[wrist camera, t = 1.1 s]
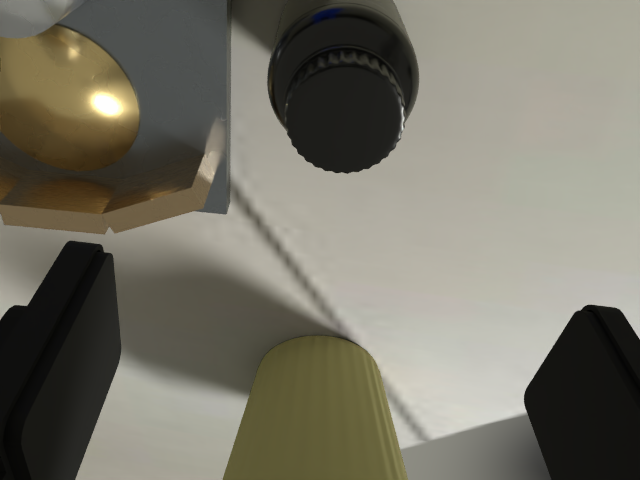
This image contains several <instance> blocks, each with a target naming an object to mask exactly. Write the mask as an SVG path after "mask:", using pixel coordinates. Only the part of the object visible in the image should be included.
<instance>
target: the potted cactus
mask: <svg viewBox="0 0 640 480" xmlns="http://www.w3.org/2000/svg"><path fill="white" fill-rule="evenodd" d="M223 480H408V478H407V474H406V471H405V466H404V463H403V459H402V455H401V451H400V447H399V444H398V440H397V436H396V432H395V428H394V424H393V421H392V417H391V413H390V409H389V405H388V401H387V398H386V394H385V390H384V386H383V382H382V378H381V375H380V371H379V369H378V366H377V364H376V362H375V360H374V359H373V358H372V356H371V355H370V354H369V353H368V352H367V351H365V350H364V349H363V348H361V347H360V346H358V345H356V344H354V343H352V342H350V341H347V340H344V339H341V338H336V337H331V336H303V337H298V338H294V339H290V340H288V341H285V342H283V343H281V344H279V345H277V346H276V347H274V348H272V349H271V350H270V351H269V352H268V353H267V354H266V355H265V356H264V358H263V359H262V361H261V363H260V365H259V367H258V370H257V373H256V376H255V380H254V383H253V386H252V389H251V392H250V395H249V398H248V402H247V405H246V408H245V411H244V414H243V417H242V420H241V424H240V427H239V430H238V433H237V436H236V439H235V442H234V445H233V449H232V452H231V455H230V458H229V461H228V464H227V467H226V470H225V474H224V477H223Z"/></svg>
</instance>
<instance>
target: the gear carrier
mask: <svg viewBox="0 0 640 480" xmlns="http://www.w3.org/2000/svg"><path fill="white" fill-rule="evenodd" d="M230 102H231V0H0V213H1V215H2V219H3V222H4V225H13V226H24V227H34V228H44V229H55V230H65V231H76V232H86V233H96V234H105V233H106V231H107V230H108V228H109V226H110V228H111V229H112V230H113V232H114V233H118V232H122V231H125V230H129V229H132V228H136V227H139V226H143V225H146V224H150V223H153V222H157V221H160V220H164V219H168V218H171V217H175V216H178V215H182V214H185V213H189V212H192V211H198V212H208V213H218V214H227V211H228V207H229V204H230Z"/></svg>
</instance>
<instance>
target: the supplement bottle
mask: <svg viewBox="0 0 640 480" xmlns="http://www.w3.org/2000/svg"><path fill="white" fill-rule="evenodd" d="M267 85H268V94H269V99H270V102H271V106H272V108H273V111H274V113H275V115H276V117H277V119H278V120H279V122H280V123H281V125H282V126H283V127H284V128H285V130H286V131H287V135H288V136H289V138H290V139H291V142H292V145H293V146H294V147H295V148H296V149H297V152H298V154H300V155H301V156H303V157H304V158H305V160H306V161H307V162H310V163H312V164H313V165H314V166H315V167H318V168H322V169H323V170H325V171H333V172H335V173H340V172H344V173H347V174H348V173H351V172H359V171H361V170H363V169H369V168H370V167H371V166H373V165H375V164H378V163H380V161H381V160H382V159H383V158H386V157H388V155H389V153H390V151H392V150H393V149H395V147H396V143H397V142H398V141H399V140H400V139H401V133H402V131H403V130H404V128H405V125H404V123H405V122H406V120H407V119H408V117H409V115H410V113H411V111H412V109H413V107H414V104H415V101H416V98H417V94H418V88H419V69H418V63H417V59H416V55H415V52H414V49H413V46H412V44H411V41H410V39H409V36H408V34H407V31H406V29H405V27H404V24H403V22H402V19H401V17H400V14H399V12H398V10H397V7H396V5H395V3H394V1H393V0H288V2H287V4H286V6H285V8H284V11H283V14H282V16H281V19H280V23H279V27H278V31H277V35H276V39H275V42H274V46H273V50H272V54H271V58H270V62H269V68H268V81H267Z"/></svg>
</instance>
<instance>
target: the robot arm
mask: <svg viewBox="0 0 640 480" xmlns="http://www.w3.org/2000/svg"><path fill="white" fill-rule="evenodd" d="M120 355H121V340H120V329H119V318H118V307H117V296H116V284H115V273H114V262H113V256H112V254H111V253H104V250H103V247H102V245H100V244H94V243H86V242H77V241H69V242H67V243H66V244H65V246H64V247H63V249H62V251H61V252H60V254H59V256H58V257H57V259H56V260H55V262H54V264H53V265H52V267H51V269H50V270H49V272H48V273H47V275H46V277H45V278H44V280H43V282H42V283H41V285H40V286H39V288H38V290H37V291H36V293H35V294H34V296H33V298H32V299H31V301H30V303H29V304H28V306H20V305H14V306H13V307H11V308H9V309H8V311H7V312H6V313H5V314H4V316H3V317H2V319H1V320H0V480H75V478H76V476H77V473H78V470H79V468H80V465H81V462H82V460H83V457H84V454H85V452H86V449H87V446H88V444H89V441H90V438H91V436H92V433H93V431H94V428H95V425H96V423H97V420H98V417H99V415H100V412H101V409H102V407H103V404H104V401H105V399H106V396H107V393H108V391H109V388H110V385H111V383H112V380H113V377H114V375H115V372H116V369H117V367H118V364H119V360H120ZM524 404H525V408H526V410H527V413H528V416H529V419H530V422H531V424H532V427H533V430H534V433H535V435H536V438H537V441H538V444H539V446H540V449H541V452H542V455H543V457H544V460H545V463H546V466H547V468H548V471H549V474H550V477H551V479H552V480H640V339H639V338H638V336H637V335H636V333H635V332H634V330H633V328H632V327H631V325H630V324H629V322H628V321H627V319H626V317H625V316H624V314H623V313H622V312H621V311H620V310H619V309H617V308H613V307H605V306H597V305H587V306H585V307H583V309H582V310H581V311H577V312H575V313H574V315H573V316H572V318H571V319H570V321H569V322H568V324H567V325H566V327H565V329H564V330H563V332H562V333H561V335H560V336H559V338H558V340H557V341H556V343H555V344H554V346H553V348H552V349H551V351H550V352H549V354H548V355H547V357H546V359H545V360H544V362H543V363H542V365H541V366H540V368H539V370H538V371H537V373H536V374H535V376H534V378H533V379H532V381H531V382H530V384H529V385H528V387H527V389H526V391H525V395H524Z"/></svg>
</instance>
